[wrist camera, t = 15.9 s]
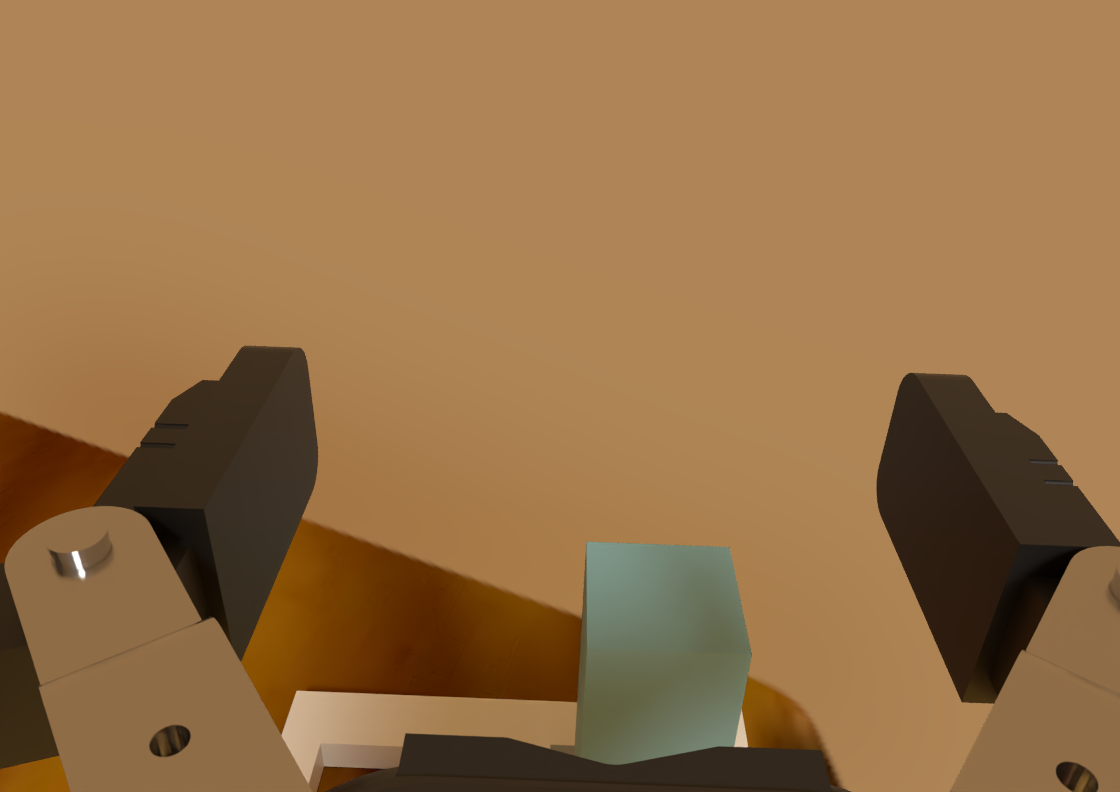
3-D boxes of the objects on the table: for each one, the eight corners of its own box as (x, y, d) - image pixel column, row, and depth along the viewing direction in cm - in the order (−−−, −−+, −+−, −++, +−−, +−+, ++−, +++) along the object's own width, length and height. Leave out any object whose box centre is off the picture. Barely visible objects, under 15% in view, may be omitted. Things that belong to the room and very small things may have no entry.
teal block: (572, 881, 34) (587, 648, 28) (573, 765, 39) (586, 541, 33) (707, 886, 34) (751, 654, 28) (693, 770, 39) (729, 547, 33)
